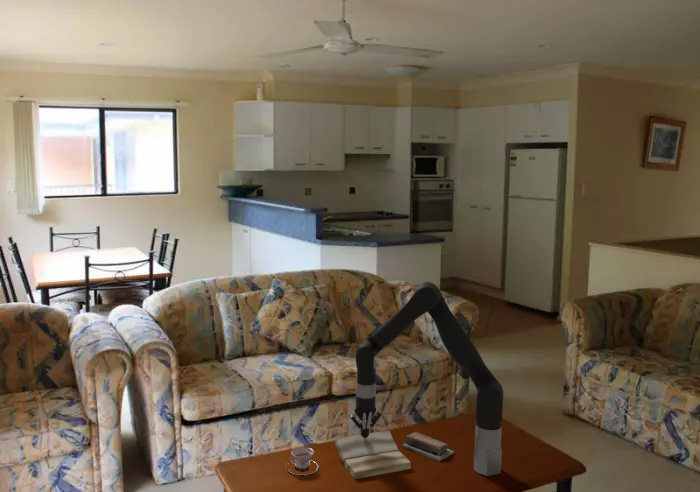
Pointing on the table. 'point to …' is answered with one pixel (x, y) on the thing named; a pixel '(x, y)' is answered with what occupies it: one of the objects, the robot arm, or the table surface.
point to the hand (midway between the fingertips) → (364, 437)
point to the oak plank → (377, 464)
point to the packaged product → (427, 446)
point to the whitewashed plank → (365, 445)
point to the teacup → (302, 458)
